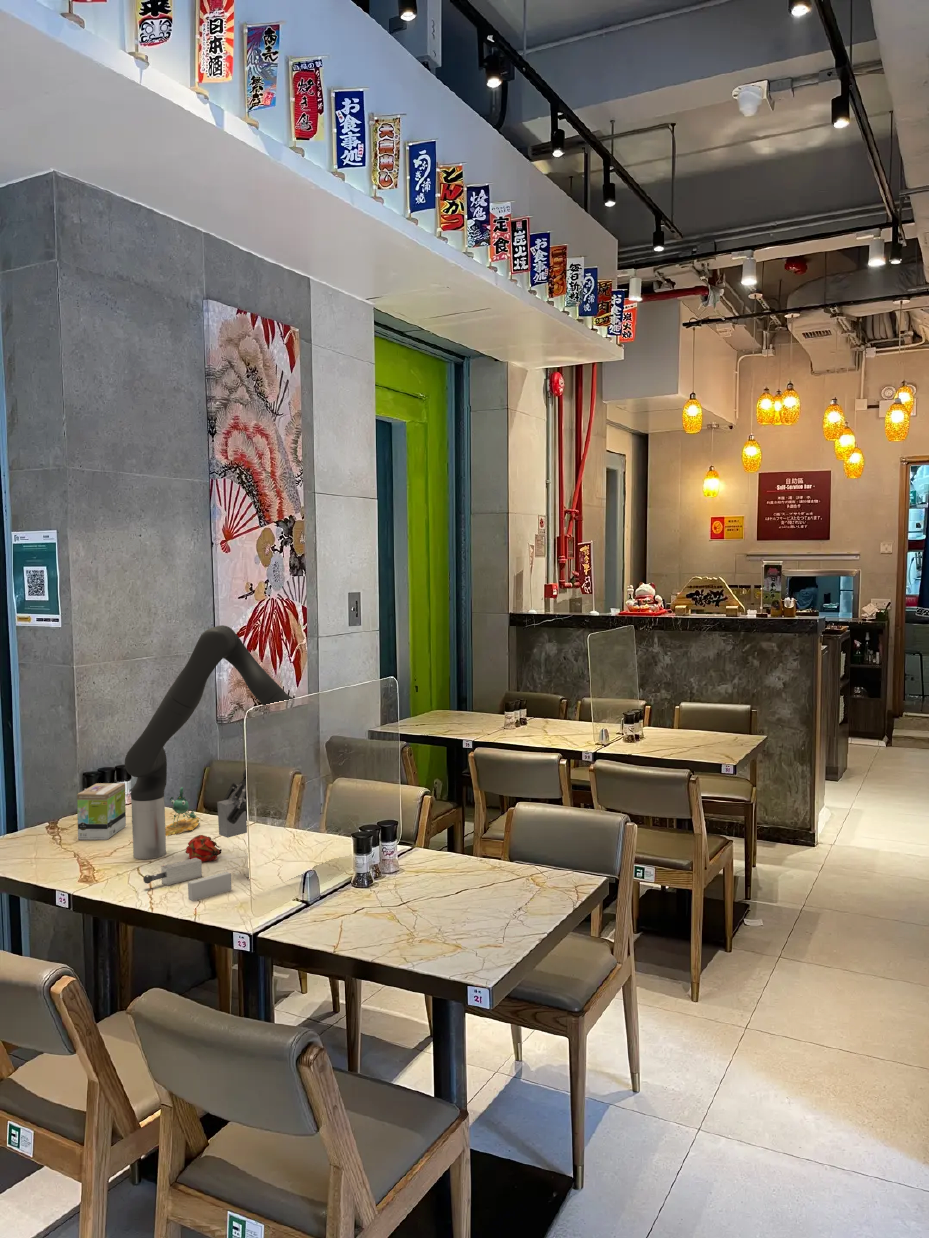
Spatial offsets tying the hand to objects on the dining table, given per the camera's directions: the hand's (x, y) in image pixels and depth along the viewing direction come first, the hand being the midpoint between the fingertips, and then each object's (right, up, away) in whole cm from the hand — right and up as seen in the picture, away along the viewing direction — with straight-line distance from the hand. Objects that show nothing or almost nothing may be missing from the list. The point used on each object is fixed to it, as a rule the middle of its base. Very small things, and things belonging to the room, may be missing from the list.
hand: (226, 820), depth 254 cm
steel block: (+2, -4, +2) cm, 5 cm away
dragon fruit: (-10, -16, +16) cm, 25 cm away
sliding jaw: (-13, -16, -4) cm, 21 cm away
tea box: (-51, -14, +46) cm, 70 cm away
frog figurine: (-26, -14, +50) cm, 58 cm away
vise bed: (-7, -17, -6) cm, 20 cm away
